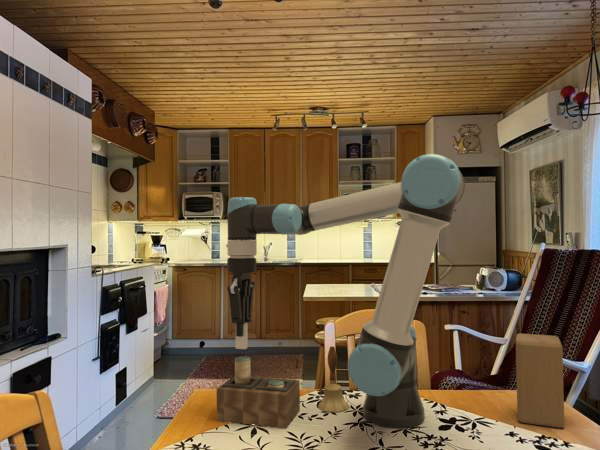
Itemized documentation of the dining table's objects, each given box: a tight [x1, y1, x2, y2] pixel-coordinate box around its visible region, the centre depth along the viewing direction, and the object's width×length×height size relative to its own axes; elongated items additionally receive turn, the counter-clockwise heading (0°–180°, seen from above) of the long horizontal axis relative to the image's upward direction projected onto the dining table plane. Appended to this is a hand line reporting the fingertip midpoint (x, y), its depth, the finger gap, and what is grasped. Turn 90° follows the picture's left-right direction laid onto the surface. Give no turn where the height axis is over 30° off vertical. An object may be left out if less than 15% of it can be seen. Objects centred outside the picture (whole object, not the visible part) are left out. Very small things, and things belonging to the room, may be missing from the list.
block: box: [515, 333, 565, 429], centre depth 116 cm, size 10×10×20 cm
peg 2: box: [268, 380, 284, 388], centre depth 119 cm, size 4×4×8 cm
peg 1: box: [234, 356, 252, 385], centre depth 121 cm, size 4×4×8 cm
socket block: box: [216, 375, 301, 429], centre depth 120 cm, size 18×12×8 cm, turn 74°
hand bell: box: [317, 345, 350, 413], centre depth 126 cm, size 8×8×16 cm
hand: (241, 348), depth 121 cm, fingers closed
